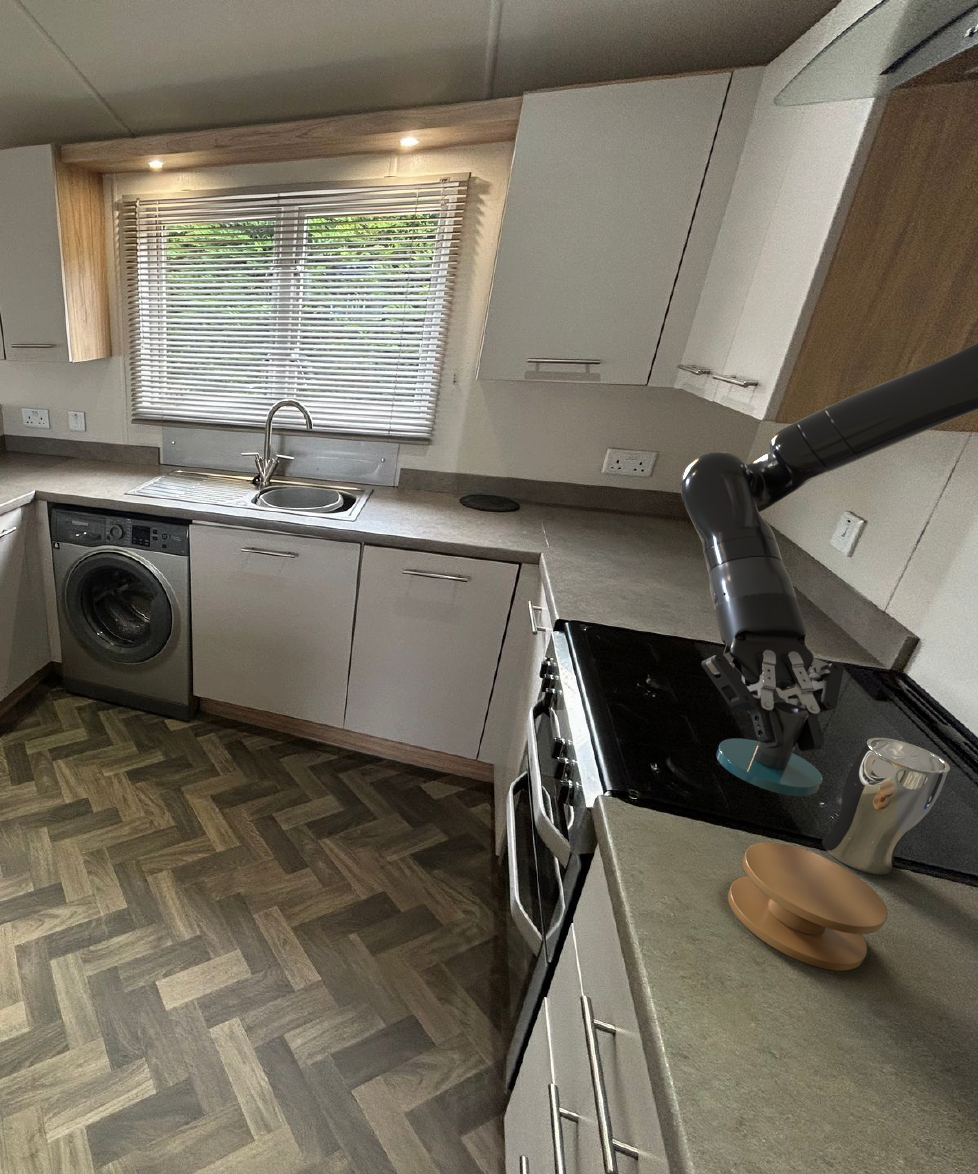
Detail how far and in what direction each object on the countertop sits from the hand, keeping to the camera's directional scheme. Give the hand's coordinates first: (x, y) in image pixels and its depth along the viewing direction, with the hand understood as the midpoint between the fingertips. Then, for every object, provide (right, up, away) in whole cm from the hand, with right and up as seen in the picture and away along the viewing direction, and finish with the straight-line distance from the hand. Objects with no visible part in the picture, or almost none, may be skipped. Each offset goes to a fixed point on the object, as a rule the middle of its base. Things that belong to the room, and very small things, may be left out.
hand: (792, 747), depth 68 cm
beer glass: (+16, -16, +9) cm, 24 cm away
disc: (0, -3, +4) cm, 5 cm away
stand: (-1, -19, -1) cm, 19 cm away
